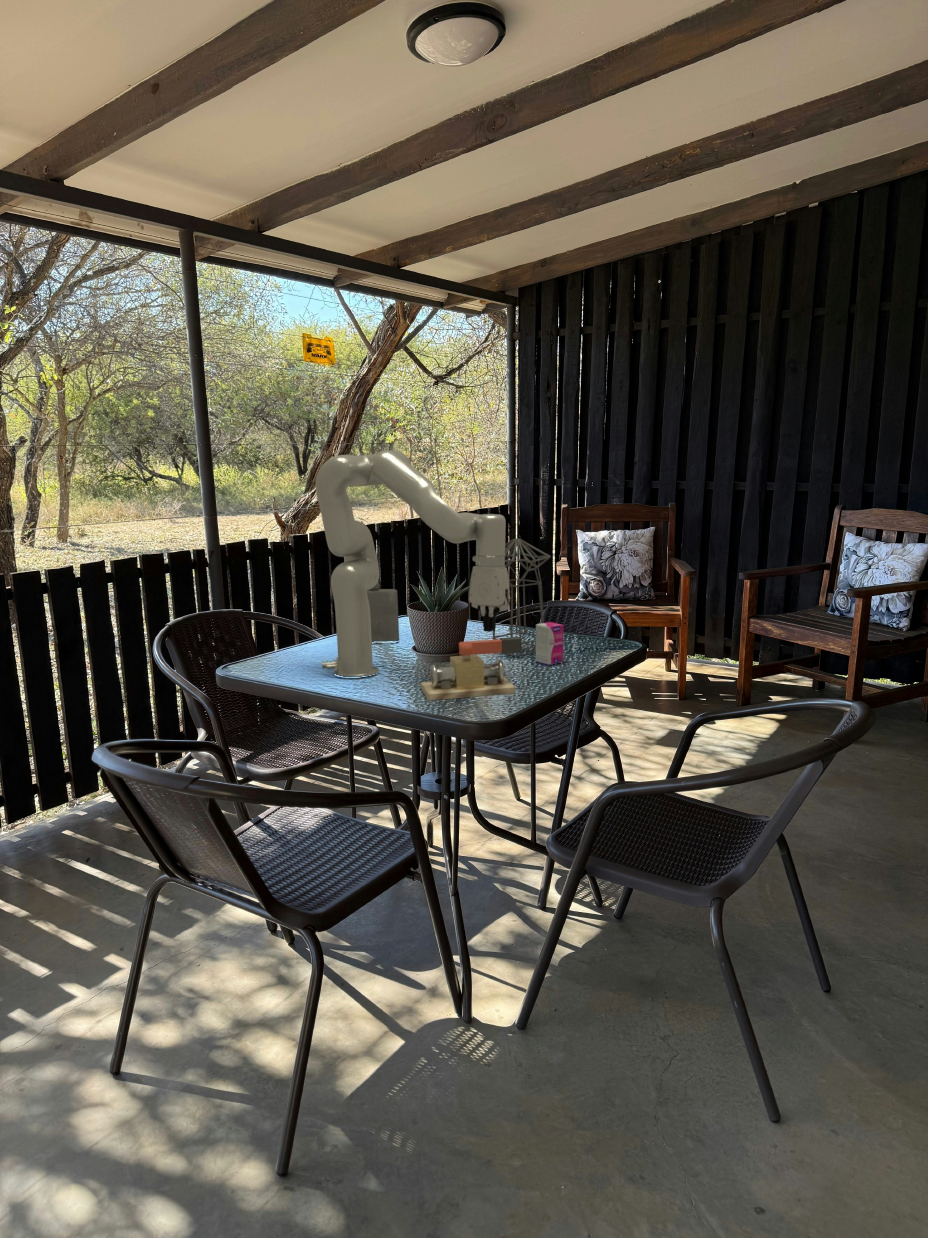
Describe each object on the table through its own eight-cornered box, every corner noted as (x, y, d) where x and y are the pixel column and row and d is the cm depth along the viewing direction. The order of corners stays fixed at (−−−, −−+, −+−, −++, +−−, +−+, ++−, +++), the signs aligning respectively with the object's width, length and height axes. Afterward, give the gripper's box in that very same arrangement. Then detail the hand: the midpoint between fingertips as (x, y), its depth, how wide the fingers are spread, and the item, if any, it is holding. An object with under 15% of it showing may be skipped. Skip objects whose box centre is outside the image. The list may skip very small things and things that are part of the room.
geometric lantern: (521, 645, 255) (519, 535, 249) (555, 653, 243) (554, 537, 237) (482, 653, 246) (479, 539, 240) (515, 662, 234) (513, 541, 227)
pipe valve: (435, 694, 198) (434, 664, 197) (429, 687, 206) (428, 658, 204) (505, 688, 202) (504, 659, 201) (497, 681, 209) (497, 653, 208)
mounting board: (428, 700, 196) (428, 694, 196) (420, 688, 208) (420, 682, 207) (515, 693, 200) (515, 687, 200) (503, 681, 212) (503, 676, 212)
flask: (399, 640, 270) (396, 581, 266) (399, 643, 264) (397, 583, 261) (354, 642, 268) (351, 583, 265) (353, 645, 263) (350, 585, 259)
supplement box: (548, 666, 227) (548, 626, 225) (535, 663, 232) (534, 624, 230) (564, 663, 230) (563, 624, 228) (550, 659, 235) (549, 621, 233)
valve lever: (460, 659, 200) (460, 643, 200) (458, 656, 204) (457, 640, 203) (522, 655, 203) (521, 639, 202) (518, 652, 207) (518, 636, 206)
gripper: (458, 561, 210) (458, 629, 214) (507, 565, 202) (506, 636, 206) (474, 558, 217) (473, 625, 220) (522, 562, 209) (520, 631, 212)
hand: (489, 630), depth 213 cm, fingers closed
